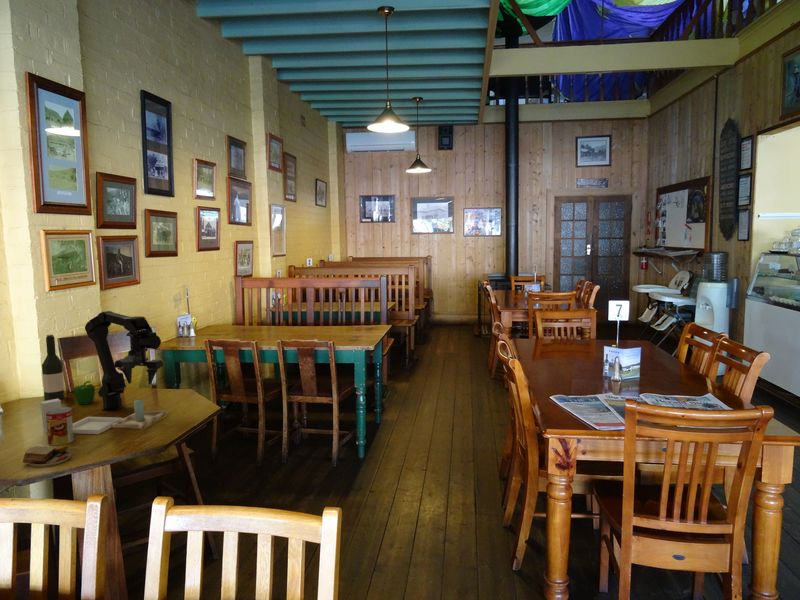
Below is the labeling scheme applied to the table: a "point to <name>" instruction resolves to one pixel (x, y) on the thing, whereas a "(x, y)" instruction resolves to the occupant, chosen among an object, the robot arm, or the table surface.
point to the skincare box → (47, 406)
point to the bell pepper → (84, 393)
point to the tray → (131, 423)
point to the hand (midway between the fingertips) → (139, 383)
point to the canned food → (59, 426)
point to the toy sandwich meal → (46, 456)
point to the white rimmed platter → (94, 425)
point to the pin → (139, 410)
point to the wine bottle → (52, 373)
